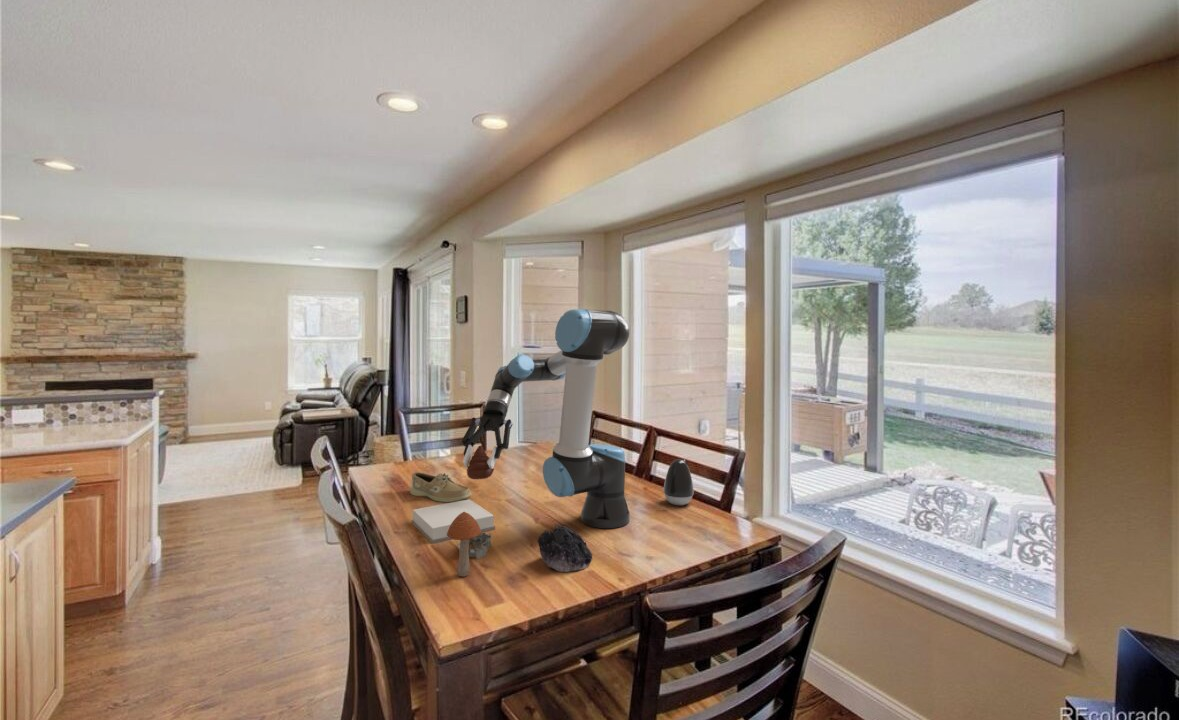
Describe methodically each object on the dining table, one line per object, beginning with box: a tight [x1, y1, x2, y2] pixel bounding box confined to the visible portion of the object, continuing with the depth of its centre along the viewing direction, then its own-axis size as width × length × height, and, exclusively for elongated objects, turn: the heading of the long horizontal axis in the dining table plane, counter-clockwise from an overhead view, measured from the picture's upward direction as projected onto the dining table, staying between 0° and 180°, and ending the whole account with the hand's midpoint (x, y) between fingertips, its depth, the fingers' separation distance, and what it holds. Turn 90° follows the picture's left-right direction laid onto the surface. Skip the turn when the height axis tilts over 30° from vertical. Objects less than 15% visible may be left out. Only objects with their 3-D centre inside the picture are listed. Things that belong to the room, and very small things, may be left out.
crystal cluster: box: [537, 525, 593, 573], centre depth 129 cm, size 13×14×10 cm
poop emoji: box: [466, 445, 495, 480], centre depth 161 cm, size 10×8×9 cm
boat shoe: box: [409, 471, 472, 503], centre depth 179 cm, size 25×9×8 cm, turn 64°
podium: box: [411, 498, 496, 544], centre depth 152 cm, size 19×19×4 cm
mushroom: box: [447, 512, 482, 578], centre depth 121 cm, size 8×8×15 cm
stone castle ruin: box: [457, 531, 493, 560], centre depth 135 cm, size 11×8×4 cm
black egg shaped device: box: [663, 458, 694, 506], centre depth 176 cm, size 10×10×15 cm
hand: (477, 465), depth 158 cm, fingers closed on poop emoji, 8 cm apart
